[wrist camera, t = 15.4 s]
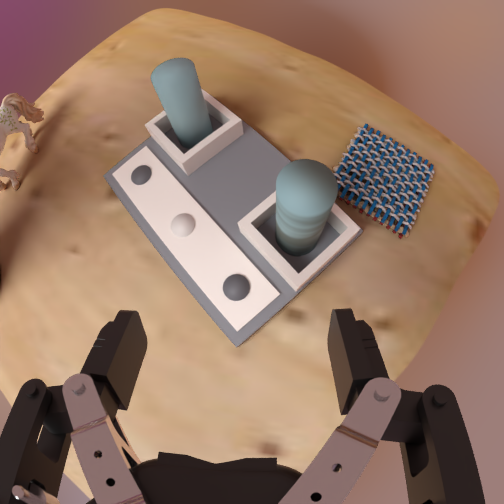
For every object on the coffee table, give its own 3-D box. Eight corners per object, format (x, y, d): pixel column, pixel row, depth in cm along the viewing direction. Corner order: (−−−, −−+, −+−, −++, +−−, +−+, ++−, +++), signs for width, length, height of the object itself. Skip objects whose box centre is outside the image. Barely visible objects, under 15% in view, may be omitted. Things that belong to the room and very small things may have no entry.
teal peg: (295, 264, 29) (307, 226, 19) (266, 233, 30) (263, 183, 20) (326, 236, 29) (350, 188, 20) (297, 207, 30) (307, 149, 20)
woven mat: (433, 172, 32) (440, 163, 30) (403, 244, 30) (410, 238, 28) (359, 127, 34) (362, 116, 32) (318, 192, 32) (320, 183, 30)
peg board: (237, 347, 28) (215, 352, 17) (106, 179, 34) (57, 127, 23) (360, 234, 30) (399, 183, 19) (211, 99, 36) (193, 31, 25)
